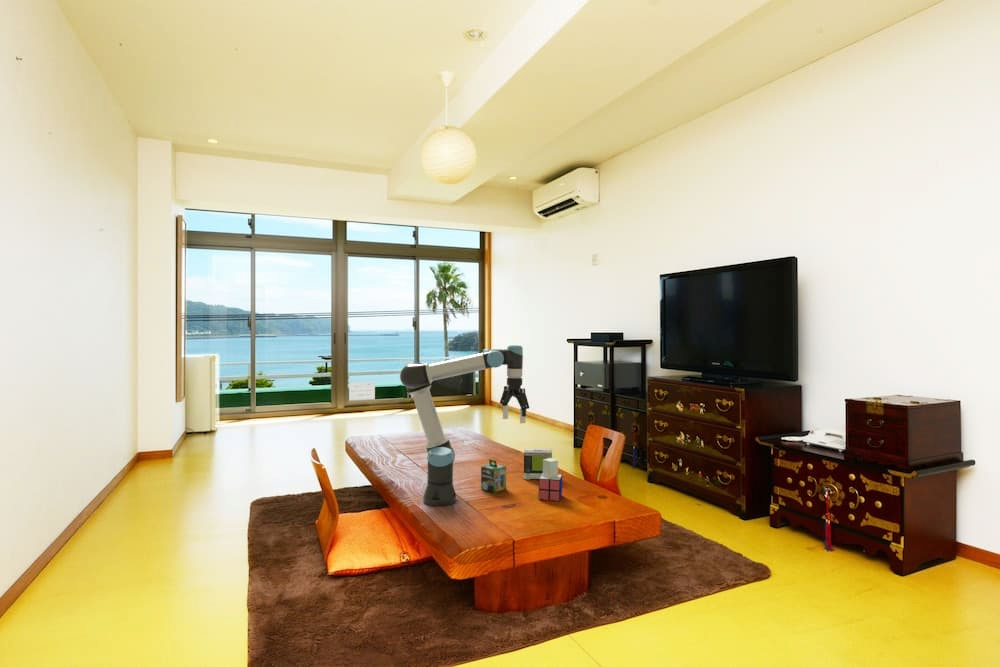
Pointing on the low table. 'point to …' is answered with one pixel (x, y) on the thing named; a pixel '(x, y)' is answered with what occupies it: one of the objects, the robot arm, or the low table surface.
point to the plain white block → (550, 468)
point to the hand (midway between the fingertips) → (513, 421)
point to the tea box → (535, 462)
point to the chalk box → (493, 477)
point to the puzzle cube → (550, 488)
